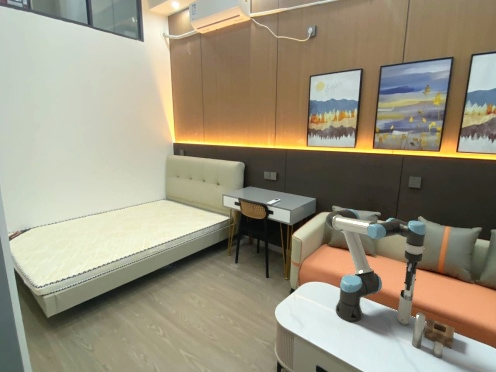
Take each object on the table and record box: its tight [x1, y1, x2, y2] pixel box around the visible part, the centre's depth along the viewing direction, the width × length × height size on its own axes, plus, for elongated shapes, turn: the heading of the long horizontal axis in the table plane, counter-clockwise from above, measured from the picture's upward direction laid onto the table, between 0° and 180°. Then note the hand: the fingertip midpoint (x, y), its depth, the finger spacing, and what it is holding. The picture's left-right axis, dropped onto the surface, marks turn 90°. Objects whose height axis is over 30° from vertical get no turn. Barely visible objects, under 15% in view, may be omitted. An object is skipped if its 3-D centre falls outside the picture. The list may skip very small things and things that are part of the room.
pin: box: [403, 273, 417, 302], centre depth 137 cm, size 4×4×14 cm
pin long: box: [411, 312, 426, 349], centre depth 136 cm, size 4×4×18 cm
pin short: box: [431, 341, 445, 359], centre depth 132 cm, size 4×4×6 cm
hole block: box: [423, 317, 456, 350], centre depth 143 cm, size 12×10×6 cm
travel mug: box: [396, 289, 414, 326], centre depth 153 cm, size 6×7×20 cm
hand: (408, 293), depth 138 cm, fingers closed on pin, 4 cm apart
